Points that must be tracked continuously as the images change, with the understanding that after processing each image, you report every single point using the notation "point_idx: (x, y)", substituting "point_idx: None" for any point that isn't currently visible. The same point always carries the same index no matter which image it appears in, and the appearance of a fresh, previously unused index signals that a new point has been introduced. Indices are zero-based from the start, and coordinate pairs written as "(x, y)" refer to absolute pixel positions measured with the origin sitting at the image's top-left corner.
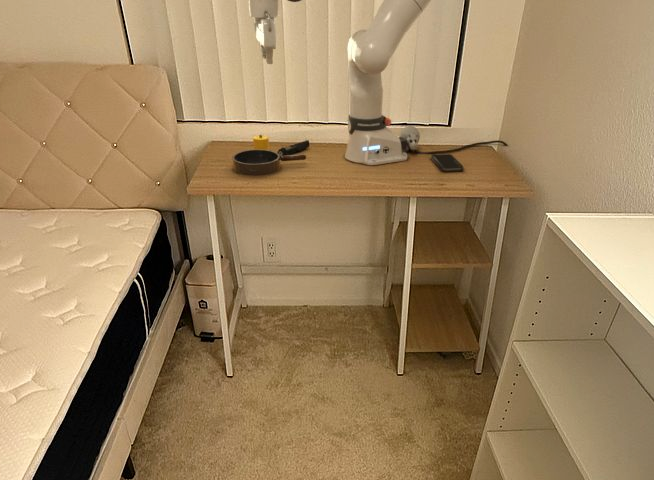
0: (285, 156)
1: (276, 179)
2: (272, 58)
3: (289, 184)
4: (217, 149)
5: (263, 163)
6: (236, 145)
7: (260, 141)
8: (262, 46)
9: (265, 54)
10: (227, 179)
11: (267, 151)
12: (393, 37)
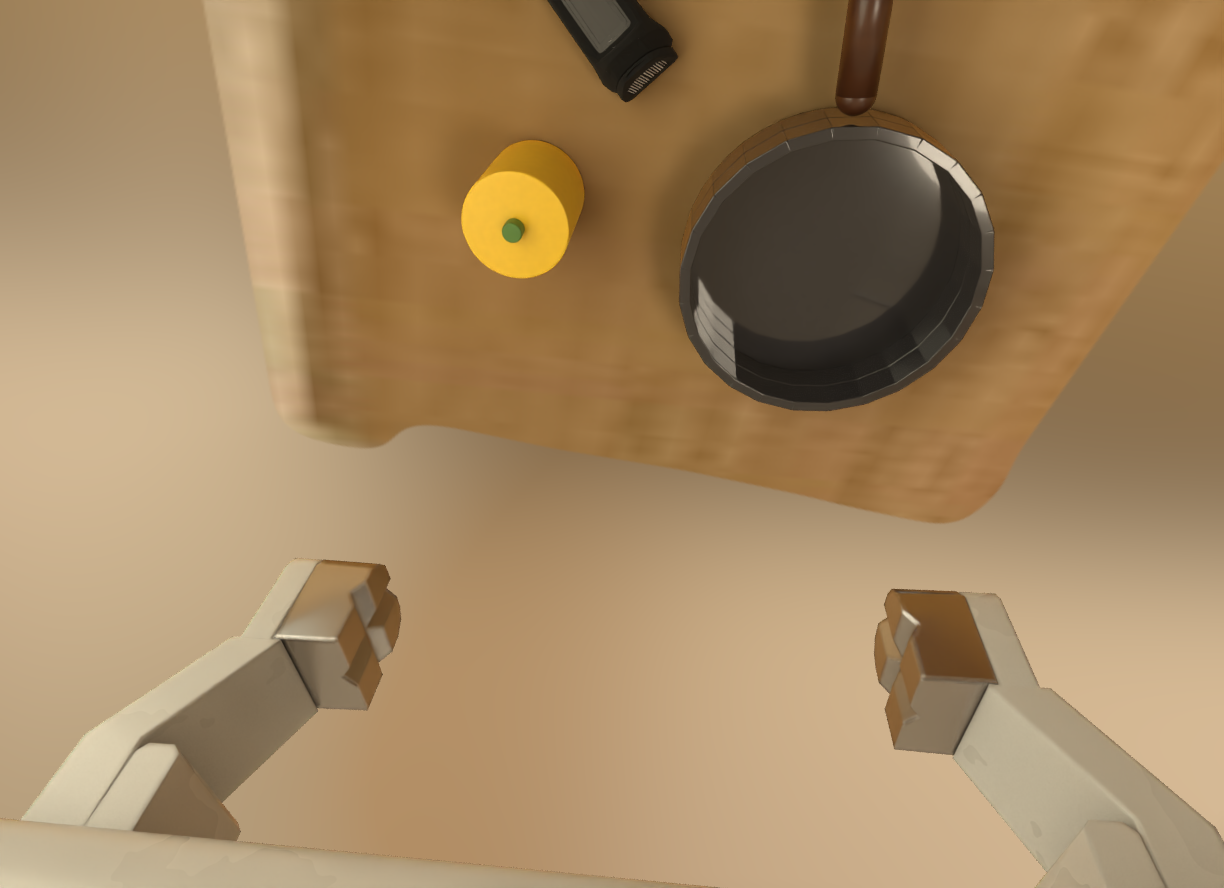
0: (872, 75)
1: (1067, 167)
2: (1030, 670)
3: (1214, 92)
4: (447, 412)
5: (988, 262)
6: (374, 318)
7: (570, 232)
8: (213, 787)
9: (358, 643)
10: (926, 415)
11: (725, 197)
12: None
